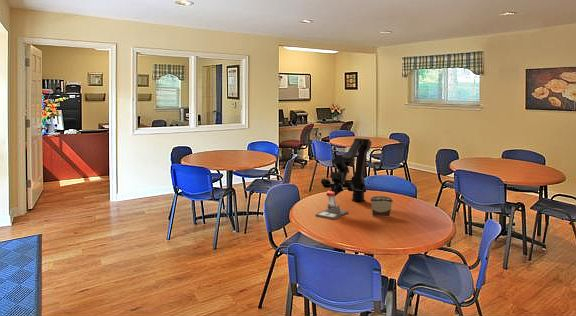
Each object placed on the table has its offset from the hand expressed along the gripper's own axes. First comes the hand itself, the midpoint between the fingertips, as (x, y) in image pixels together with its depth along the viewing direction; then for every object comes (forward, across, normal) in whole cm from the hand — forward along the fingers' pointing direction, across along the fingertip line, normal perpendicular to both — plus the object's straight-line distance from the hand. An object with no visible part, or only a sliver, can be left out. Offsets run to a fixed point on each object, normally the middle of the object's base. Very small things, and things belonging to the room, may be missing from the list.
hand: (332, 197), depth 235 cm
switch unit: (+7, 0, +7) cm, 10 cm away
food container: (-3, +23, +17) cm, 29 cm away
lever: (+3, 0, +6) cm, 6 cm away
